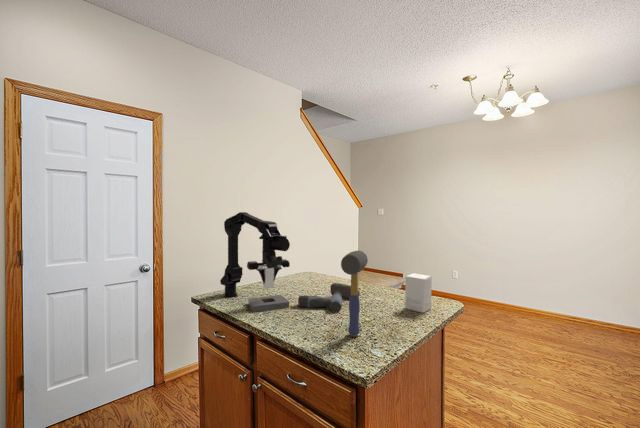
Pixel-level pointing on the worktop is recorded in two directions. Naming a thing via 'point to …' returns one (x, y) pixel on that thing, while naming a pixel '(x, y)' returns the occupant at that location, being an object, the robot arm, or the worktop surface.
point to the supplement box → (418, 292)
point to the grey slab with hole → (268, 303)
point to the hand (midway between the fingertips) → (268, 282)
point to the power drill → (321, 302)
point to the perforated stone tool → (342, 290)
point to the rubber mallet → (354, 286)
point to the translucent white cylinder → (268, 277)
